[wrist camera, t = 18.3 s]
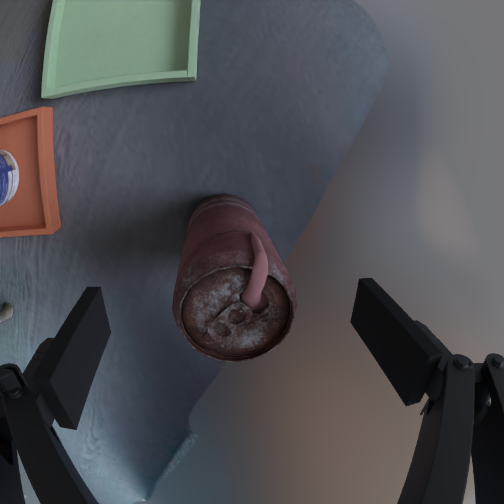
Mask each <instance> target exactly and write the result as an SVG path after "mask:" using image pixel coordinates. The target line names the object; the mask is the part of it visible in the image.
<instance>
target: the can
mask: <svg viewBox="0 0 504 504" xmlns="http://www.w3.org/2000/svg"><path fill="white" fill-rule="evenodd" d="M296 307H297V303H296V290H295V288H294V285H293V283H292V280H291V278H290V276H289V274H288V272H287V270H286V268H285V266H284V264H283V262H282V261H281V259H280V257H279V255H278V253H277V251H276V249H275V247H274V245H273V243H272V242H271V240H270V238H269V236H268V234H267V232H266V230H265V228H264V226H263V225H262V223H261V221H260V219H259V217H258V215H257V213H256V212H255V210H254V208H253V207H252V206H251V205H250V204H249V203H248V202H247V201H245V200H243V199H242V198H240V197H238V196H235V195H229V194H221V195H214V196H212V197H209V198H207V199H205V200H203V201H202V202H201V203H200V204H199V205H198V206H197V207H196V208H195V209H194V211H193V213H192V215H191V217H190V219H189V223H188V228H187V232H186V237H185V241H184V246H183V250H182V255H181V260H180V264H179V269H178V274H177V279H176V284H175V289H174V297H173V307H172V310H173V314H174V317H175V321H176V324H177V326H178V328H179V329H180V330H181V332H182V335H183V336H184V337H185V339H186V340H187V341H188V343H189V344H190V345H191V347H193V348H194V349H196V350H197V351H198V352H200V353H201V354H203V355H204V356H207V357H210V358H213V359H216V360H218V361H227V362H240V361H247V360H253V359H255V358H258V357H260V356H262V355H265V354H267V353H269V352H270V351H271V350H272V349H274V348H275V347H276V346H278V345H279V344H280V343H281V342H282V341H283V339H284V338H285V336H286V335H287V334H288V333H289V331H290V328H291V325H292V322H293V319H294V314H295V311H296Z"/></svg>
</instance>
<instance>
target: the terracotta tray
mask: <svg viewBox="0 0 504 504" xmlns="http://www.w3.org/2000/svg"><path fill="white" fill-rule="evenodd" d="M0 150H5V151H7V152H9V153H11V155H12V156H13V157H14V159H15V160H16V162H17V165H18V169H19V184H18V188H17V191H16V193H15V195H14V196H13V198H12V199H11V200H10V201H9V202H7V203H5V204H4V205H2V206H0V237H13V236H30V235H47V234H48V235H49V234H53V233H55V232H56V231H57V230H59V229H60V228H61V221H60V214H59V206H58V198H57V189H56V178H55V165H54V146H53V107H39V108H35V109H31V110H27V111H24V112H20V113H16V114H13V115H9V116H6V117H3V118H0Z"/></svg>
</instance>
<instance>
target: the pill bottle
mask: <svg viewBox="0 0 504 504" xmlns="http://www.w3.org/2000/svg"><path fill="white" fill-rule="evenodd" d="M18 184H19V169H18V165H17V162H16V160H15V159H14V157H13V156H12V155H11V153H9V152H7V151H5V150H0V206H2V205H4V204H5V203H7V202H9V201H10V200H11V199H12V198H13V196H14V195H15V193H16V191H17V188H18Z"/></svg>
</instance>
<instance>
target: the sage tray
mask: <svg viewBox="0 0 504 504" xmlns="http://www.w3.org/2000/svg"><path fill="white" fill-rule="evenodd" d="M200 4H201V0H53V3H52V8H51V13H50V19H49V25H48V31H47V38H46V45H45V54H44V64H43V76H42V94H41V98H48V99H54V98H59V97H63V96H68V95H73V94H78V93H84V92H90V91H96V90H102V89H109V88H116V87H124V86H132V85H142V84H153V83H166V82H185V81H196V76H197V52H198V34H199V18H200Z"/></svg>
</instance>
